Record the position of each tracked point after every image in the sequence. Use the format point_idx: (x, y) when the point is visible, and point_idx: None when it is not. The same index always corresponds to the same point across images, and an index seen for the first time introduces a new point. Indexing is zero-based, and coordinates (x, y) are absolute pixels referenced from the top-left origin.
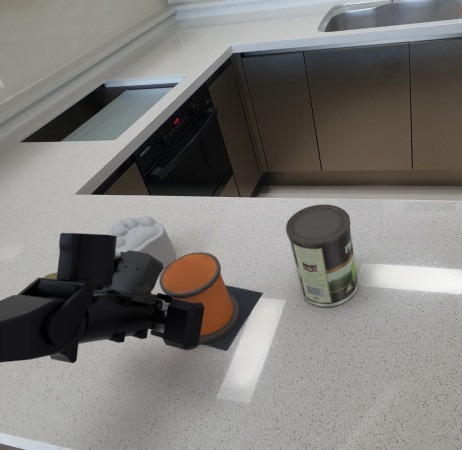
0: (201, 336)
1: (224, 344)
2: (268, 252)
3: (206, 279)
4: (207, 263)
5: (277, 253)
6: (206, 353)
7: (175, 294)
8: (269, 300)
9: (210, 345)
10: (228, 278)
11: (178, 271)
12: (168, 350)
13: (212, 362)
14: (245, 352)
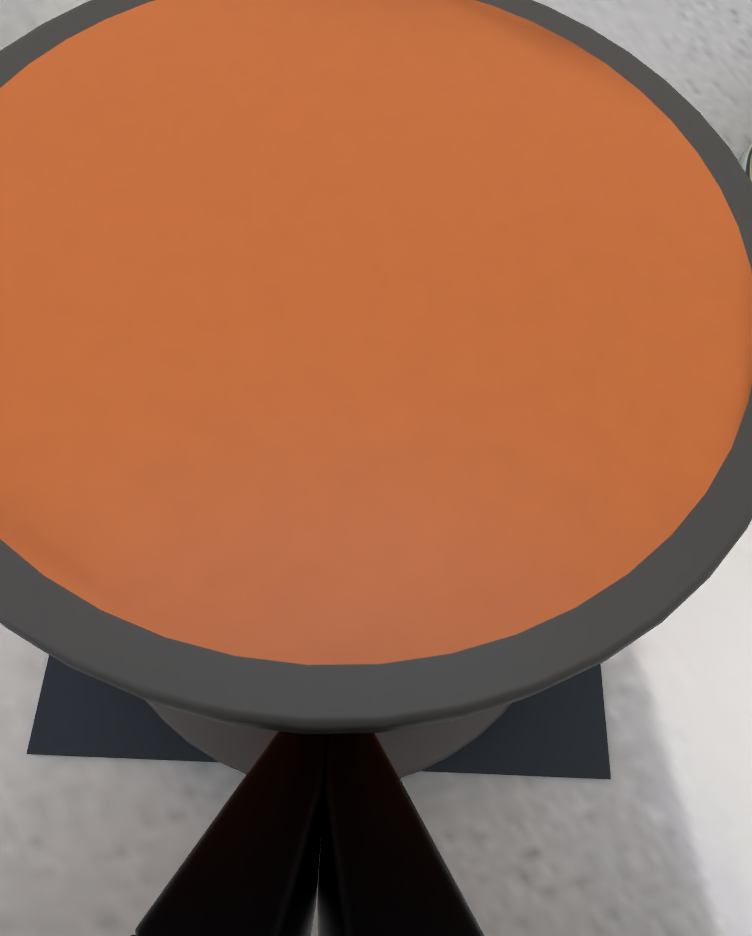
0: (397, 734)
1: (568, 733)
2: None
3: (698, 316)
4: (501, 85)
5: None
6: (477, 841)
7: (386, 712)
8: None
9: (471, 766)
10: None
11: (144, 238)
12: (154, 901)
13: (568, 910)
14: (739, 755)
